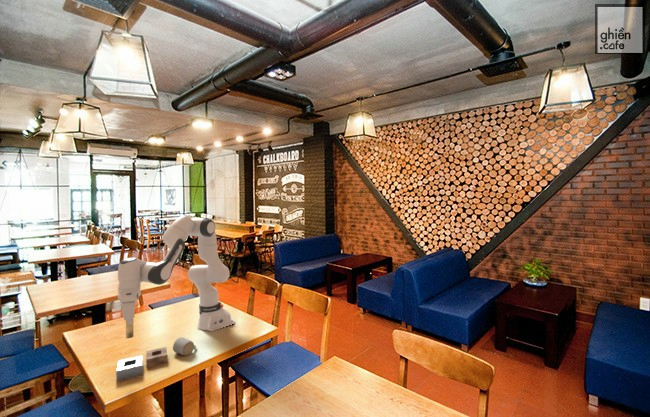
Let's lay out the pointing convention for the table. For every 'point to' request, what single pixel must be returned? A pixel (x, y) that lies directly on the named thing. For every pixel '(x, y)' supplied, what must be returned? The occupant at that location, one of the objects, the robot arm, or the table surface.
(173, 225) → the robot arm
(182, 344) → the ceramic mug
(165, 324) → the table surface
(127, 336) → the pin
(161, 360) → the mount
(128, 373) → the socket
